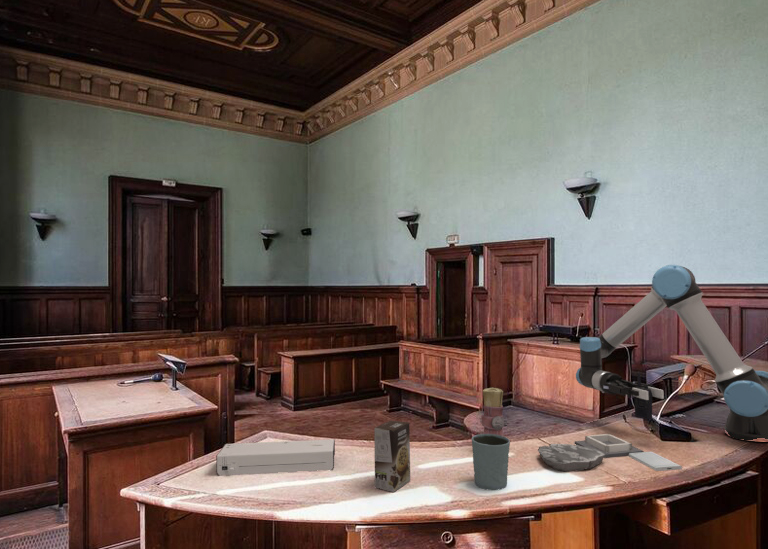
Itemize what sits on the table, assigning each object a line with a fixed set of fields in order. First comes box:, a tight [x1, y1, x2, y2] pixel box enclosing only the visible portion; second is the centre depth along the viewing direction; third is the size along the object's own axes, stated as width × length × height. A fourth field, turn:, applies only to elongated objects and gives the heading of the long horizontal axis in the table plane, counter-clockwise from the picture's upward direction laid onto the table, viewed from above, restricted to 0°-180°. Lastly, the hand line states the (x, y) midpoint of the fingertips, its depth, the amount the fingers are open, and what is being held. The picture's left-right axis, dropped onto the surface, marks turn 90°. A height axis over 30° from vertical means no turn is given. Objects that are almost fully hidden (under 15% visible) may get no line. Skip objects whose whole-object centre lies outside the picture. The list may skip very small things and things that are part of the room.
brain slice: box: [537, 443, 605, 472], centre depth 147 cm, size 20×17×3 cm
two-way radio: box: [633, 371, 653, 420], centre depth 161 cm, size 6×4×15 cm
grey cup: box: [471, 433, 511, 491], centre depth 132 cm, size 10×10×12 cm
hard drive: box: [628, 451, 683, 472], centre depth 145 cm, size 2×8×12 cm
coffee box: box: [373, 420, 411, 493], centre depth 133 cm, size 9×6×16 cm
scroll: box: [479, 387, 505, 436], centre depth 158 cm, size 8×8×20 cm
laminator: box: [215, 439, 336, 477], centre depth 147 cm, size 34×12×6 cm, turn 95°
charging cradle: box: [574, 433, 645, 459], centre depth 158 cm, size 15×14×3 cm
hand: (654, 395), depth 156 cm, fingers closed on two-way radio, 5 cm apart
